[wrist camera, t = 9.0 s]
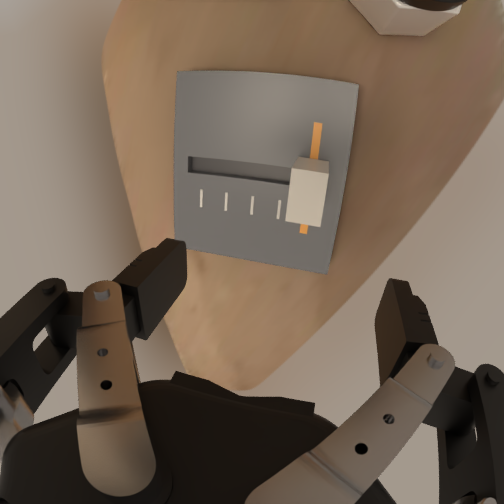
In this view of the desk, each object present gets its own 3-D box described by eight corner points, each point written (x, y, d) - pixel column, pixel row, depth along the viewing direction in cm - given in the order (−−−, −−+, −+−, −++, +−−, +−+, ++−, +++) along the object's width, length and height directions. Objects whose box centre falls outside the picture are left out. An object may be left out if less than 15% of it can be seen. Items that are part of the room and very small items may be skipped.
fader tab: (299, 154, 27) (291, 167, 21) (328, 158, 26) (328, 173, 21) (294, 196, 29) (285, 221, 23) (322, 201, 28) (320, 227, 23)
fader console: (190, 73, 27) (176, 71, 25) (355, 86, 25) (359, 84, 22) (186, 235, 36) (174, 247, 33) (327, 260, 33) (327, 275, 30)
